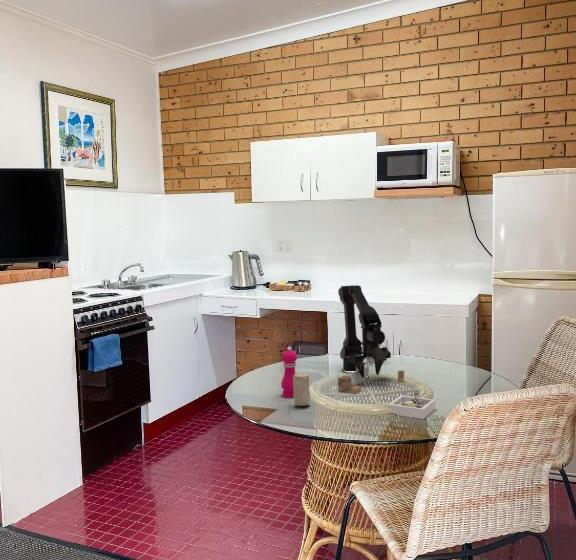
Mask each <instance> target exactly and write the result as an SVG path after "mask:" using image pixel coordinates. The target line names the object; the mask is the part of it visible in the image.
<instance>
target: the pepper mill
mask: <svg viewBox="0 0 576 560" xmlns="http://www.w3.org/2000/svg"><path fill="white" fill-rule="evenodd" d="M281 358H282V361H283V367H284V373H283V377H282V379H281V383H280V387H281V388H282V397H284V398H285V399H286V398H288V399H292V398H293V399H294V391H293V390H294V389H293V388H294V386H293V378H294V374H296V367H297V365H296V364H297V362H296V361H297V359H298V355H297V353H296V351H294V350H293V349H292V346H288V347H286V350H285V351H284V352H283V353H282V354H281Z"/></svg>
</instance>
